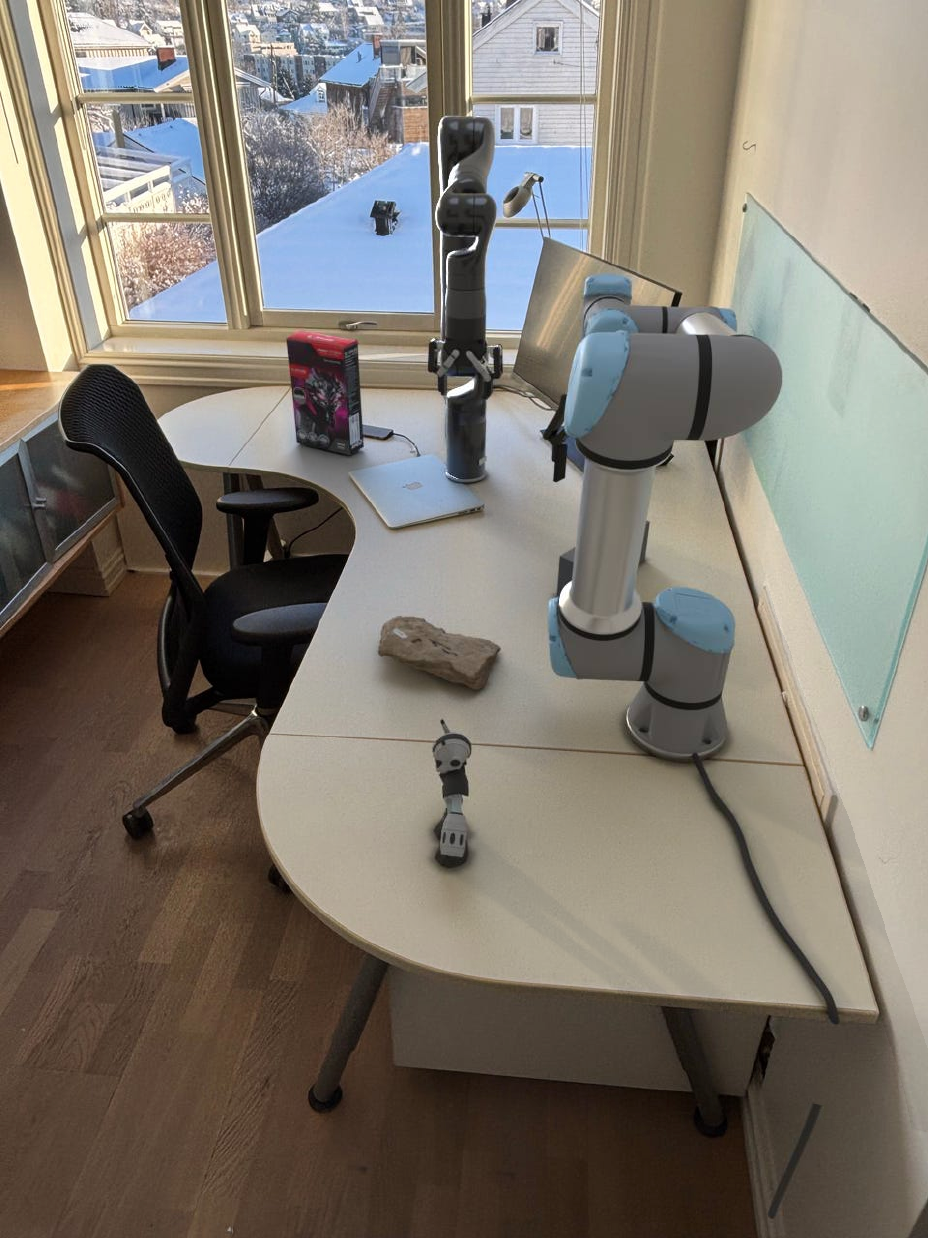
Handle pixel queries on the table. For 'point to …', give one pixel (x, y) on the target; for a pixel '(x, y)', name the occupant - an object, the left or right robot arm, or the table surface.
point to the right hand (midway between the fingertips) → (589, 490)
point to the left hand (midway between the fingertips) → (465, 396)
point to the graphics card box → (326, 391)
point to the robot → (452, 796)
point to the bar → (568, 562)
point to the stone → (438, 651)
